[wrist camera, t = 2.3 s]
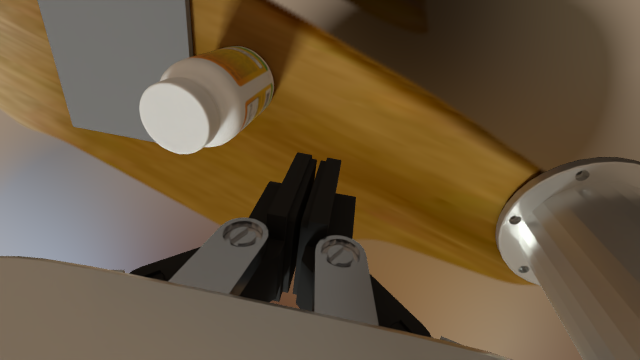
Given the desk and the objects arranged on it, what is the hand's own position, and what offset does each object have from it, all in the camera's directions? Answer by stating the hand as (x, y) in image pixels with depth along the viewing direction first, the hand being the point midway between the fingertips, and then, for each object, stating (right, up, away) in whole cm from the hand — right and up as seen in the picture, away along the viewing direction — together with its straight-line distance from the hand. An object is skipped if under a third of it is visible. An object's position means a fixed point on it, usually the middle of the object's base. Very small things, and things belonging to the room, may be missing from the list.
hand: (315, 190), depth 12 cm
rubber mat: (-16, +10, +14) cm, 23 cm away
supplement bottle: (-6, +8, +13) cm, 17 cm away
